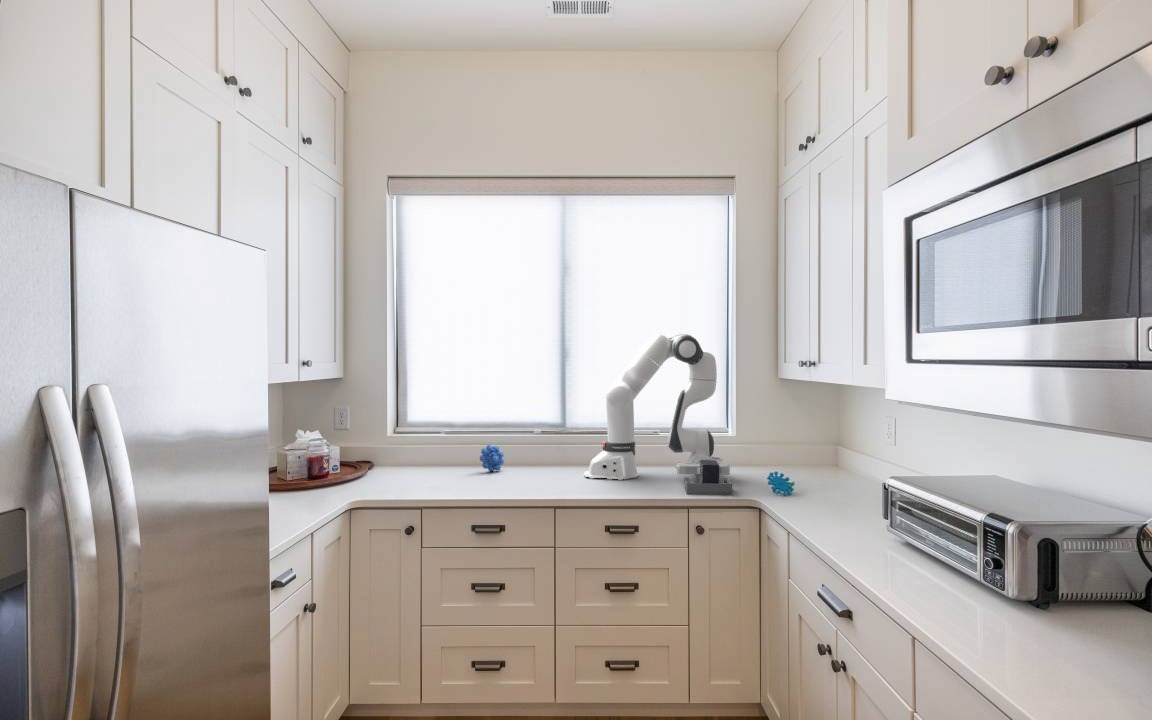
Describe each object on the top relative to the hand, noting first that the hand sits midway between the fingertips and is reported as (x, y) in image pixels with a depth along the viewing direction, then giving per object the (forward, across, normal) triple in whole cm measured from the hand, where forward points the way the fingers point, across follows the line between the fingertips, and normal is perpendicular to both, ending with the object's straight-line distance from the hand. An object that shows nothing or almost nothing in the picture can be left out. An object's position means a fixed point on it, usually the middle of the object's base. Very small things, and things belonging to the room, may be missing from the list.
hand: (705, 472), depth 224 cm
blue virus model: (+9, +26, +6) cm, 28 cm away
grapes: (-24, -87, +6) cm, 90 cm away
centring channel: (+7, 0, +6) cm, 9 cm away
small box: (+5, +1, +6) cm, 8 cm away
